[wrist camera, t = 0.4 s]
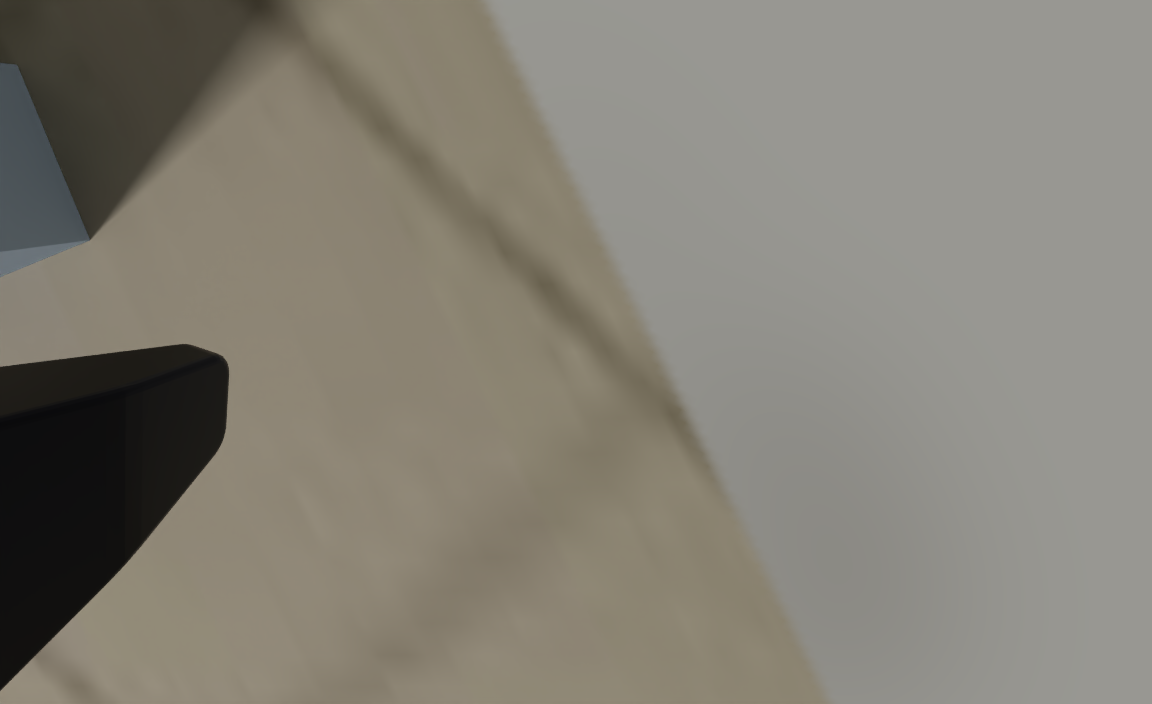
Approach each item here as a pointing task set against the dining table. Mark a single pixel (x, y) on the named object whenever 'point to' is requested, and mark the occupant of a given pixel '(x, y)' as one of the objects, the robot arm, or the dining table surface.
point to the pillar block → (30, 184)
